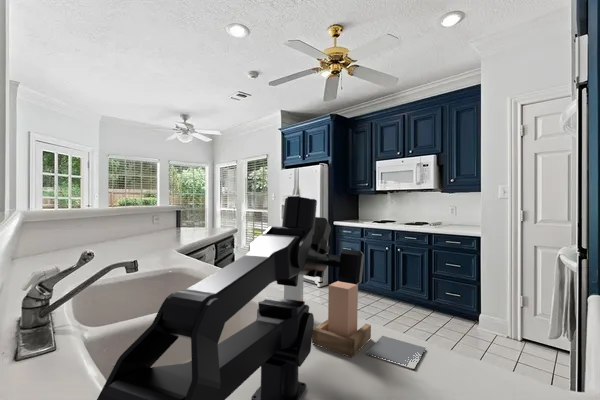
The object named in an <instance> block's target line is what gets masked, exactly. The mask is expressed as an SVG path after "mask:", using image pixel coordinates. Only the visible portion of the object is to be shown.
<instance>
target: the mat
mask: <svg viewBox="0 0 600 400" xmlns="http://www.w3.org/2000/svg"><path fill="white" fill-rule="evenodd" d="M425 349H426V350H427V347H424V346H421V345H418V344H414V343H410V342H407V341H405V340H404V341H403V340H400V339H396V338H393V337H388V336H385V335H381V337H380V338H378V339H377V341H376V342H374V343H373V345H372V346H370V348H369V349H368V350H367V351H366V352H365V353H366V354H369V355H373V356H376V357H379V358H383V359H386V360H390V361H393V362H396V363H400V364H404V365H405V364H406V366H407V365H408V363H409V361H410V360H411V359H412V360H413V359H415V358H416V357H418V356H419V355H418V353H419V354H420V355H422V354H423V352H424V351H425V352H426V350H425ZM417 352H418V353H417ZM425 352H424V353H425ZM415 353H416V354H417V355H418V356H416V354H415ZM369 355H368V356H369ZM413 355H415V356H416V357H415V356H413ZM423 355H424V354H423ZM408 357H409V358H408ZM413 357H414V358H413ZM420 357H421V356H419V359H420ZM379 358H378V359H379ZM421 358H422V357H421ZM408 359H409V360H408ZM416 359H418V358H416ZM405 360H406V361H405ZM412 360H411V362H412ZM420 360H421V359H420ZM407 361H408V362H407ZM414 361H415V360H414ZM414 361H413V362H414ZM416 362H417V361H416Z"/></svg>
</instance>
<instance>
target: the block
mask: <svg viewBox="0 0 600 400" xmlns="http://www.w3.org/2000/svg"><path fill="white" fill-rule="evenodd" d="M358 291H359V284H351V283H345V282H339V280H337V281H334V282H333V283H331V284H328V297H327V298H328V299H327V300H328V303H327V304H328V306H327V308H328V314H327V316H328V317H327V320H328V331H329V332H332V333H336V334H339V335H342V336H346V337H350V336H352V335H353V334H354V333H355V332H356V331H357V330H358V313H359V312H358V310H359V309H358V306H359V304H358V303H359V299H358V297H359V292H358Z"/></svg>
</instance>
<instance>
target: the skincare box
mask: <svg viewBox="0 0 600 400" xmlns="http://www.w3.org/2000/svg"><path fill="white" fill-rule="evenodd" d="M304 276H305V275H298V284H297V286H296V287H294V286H286V285H283V299H290V300H297V301H304V279H305V278H304Z"/></svg>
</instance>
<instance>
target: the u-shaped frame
mask: <svg viewBox="0 0 600 400" xmlns="http://www.w3.org/2000/svg"><path fill="white" fill-rule="evenodd" d="M370 338H371V339H372V325H371V324H369V323H365V324H363V325H362V326H361V327H360V328H359V329H357V331H356V332H355V333H354V334H353V335H352V336H350V337H346V336H342V335H339V334H336V333H332V332H329V331H328V319H326V320H325V321H323V322H321V323H320V324H319V325H317V326H316V327H315V326H314V327H313V334H312V343H314V344H316V345H315V346H317V345H319V346H318V347H320V346H322V347H321V348H323V347H324V349H326V348H327V349H326V350H329V349H330V350H329V351H332V350H333V351H332V352H336V353H338V354H341V355H343V354H344V356H346V355H348V356H347V357H349V356H350V358H353V357H354V356H355V355H356V354H357V353H358V352H359V351H360V350H361V349H362V348H363V347H364V346H365V345H366V344H367V343H368V342H369V341H370V340H371V339H370ZM369 339H370V340H369ZM368 340H369V341H368ZM367 341H368V342H367ZM366 342H367V343H366ZM312 343H311V344H312ZM365 343H366V344H365ZM314 344H313V345H314ZM364 344H365V345H364ZM363 345H364V346H363ZM362 346H363V347H362ZM361 347H362V348H361ZM359 349H360V350H359ZM352 356H353V357H352Z"/></svg>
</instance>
